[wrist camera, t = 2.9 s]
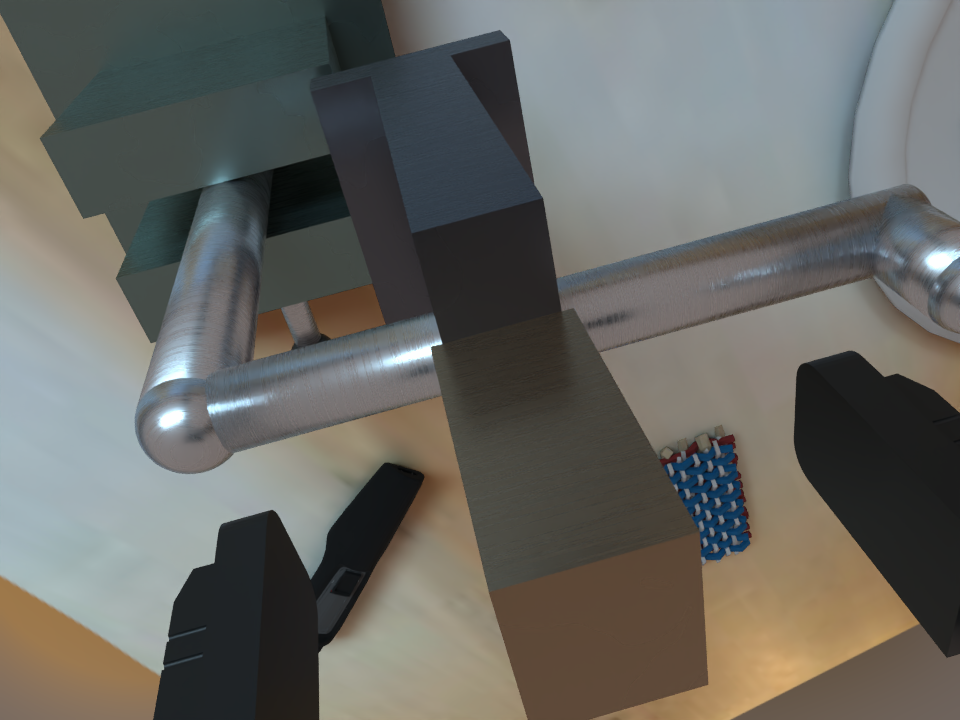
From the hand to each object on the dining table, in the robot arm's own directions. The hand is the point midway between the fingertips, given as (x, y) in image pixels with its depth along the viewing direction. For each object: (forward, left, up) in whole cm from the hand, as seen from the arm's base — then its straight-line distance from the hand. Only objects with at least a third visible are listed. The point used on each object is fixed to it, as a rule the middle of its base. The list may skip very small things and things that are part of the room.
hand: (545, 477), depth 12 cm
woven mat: (+29, +9, -25) cm, 39 cm away
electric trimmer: (+25, -10, -25) cm, 36 cm away
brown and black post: (0, 0, -12) cm, 12 cm away
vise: (+1, -2, -24) cm, 24 cm away
